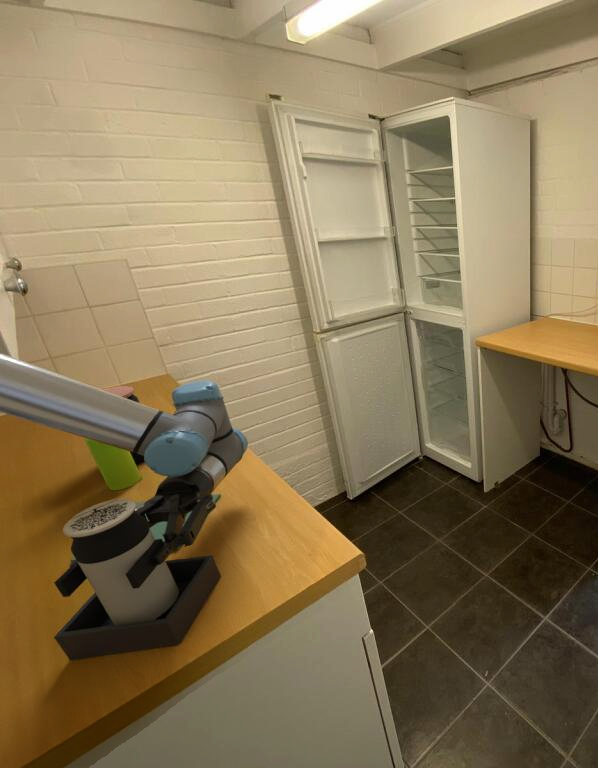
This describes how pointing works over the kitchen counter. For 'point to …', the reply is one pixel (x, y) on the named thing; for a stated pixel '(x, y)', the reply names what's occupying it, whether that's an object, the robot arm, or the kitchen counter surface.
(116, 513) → the travel mug
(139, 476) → the soap dispenser
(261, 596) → the kitchen counter surface
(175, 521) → the robot arm
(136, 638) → the dark grey tray
